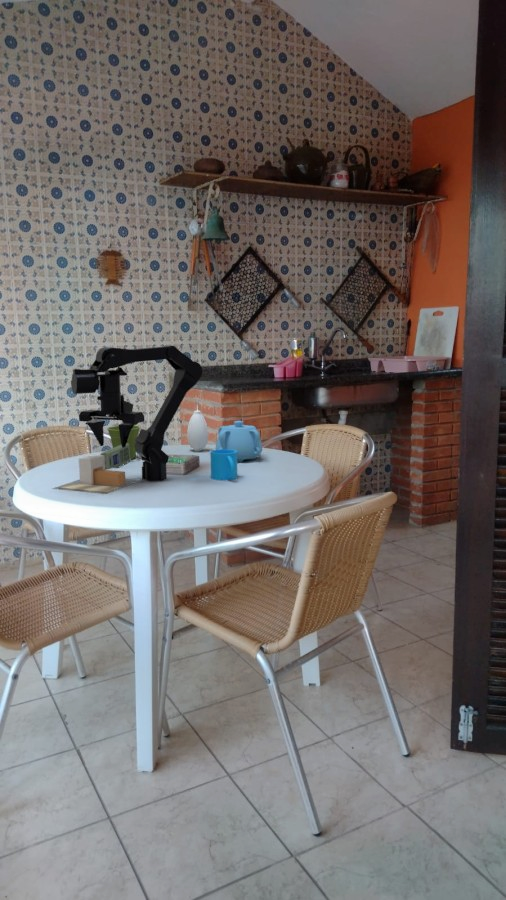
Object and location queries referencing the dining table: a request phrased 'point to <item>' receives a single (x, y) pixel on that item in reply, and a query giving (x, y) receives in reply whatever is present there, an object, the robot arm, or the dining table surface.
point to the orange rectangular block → (108, 477)
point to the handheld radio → (116, 456)
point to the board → (127, 482)
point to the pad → (89, 488)
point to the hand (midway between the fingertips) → (112, 446)
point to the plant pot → (131, 440)
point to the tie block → (90, 467)
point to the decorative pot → (240, 440)
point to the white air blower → (197, 431)
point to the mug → (223, 464)
